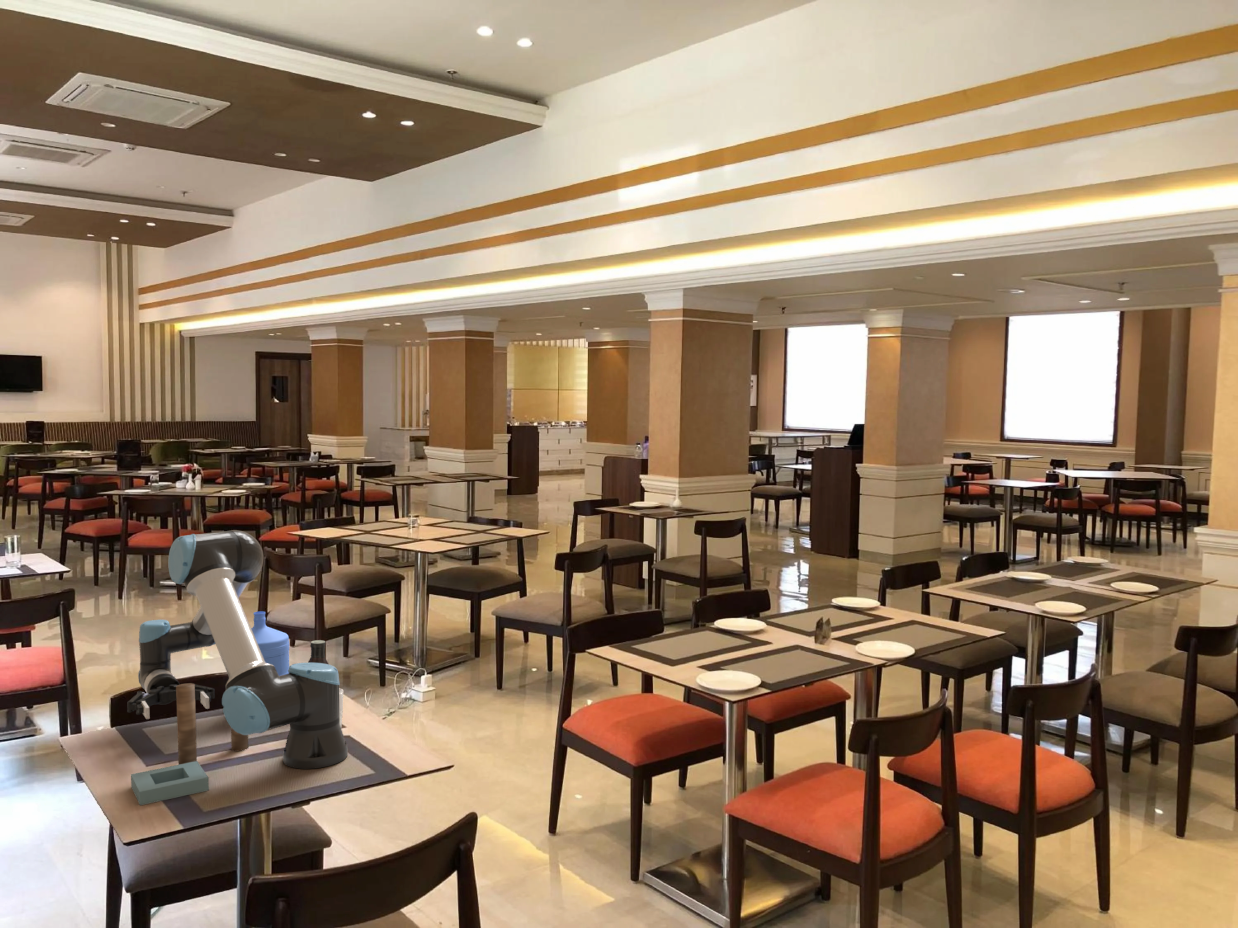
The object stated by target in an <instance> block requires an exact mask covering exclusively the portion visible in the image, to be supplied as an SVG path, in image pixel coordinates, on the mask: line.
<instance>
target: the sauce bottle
mask: <svg viewBox="0 0 1238 928" xmlns="http://www.w3.org/2000/svg"><path fill="white" fill-rule="evenodd" d="M325 650H326V641H325V640H321V639H319V640H312V641H310V658H309V659H308V661H307V663H323V664H329V662H328V660H327V659H326V654H325V653H326V651H325Z"/></svg>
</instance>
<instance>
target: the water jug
mask: <svg viewBox="0 0 1238 928" xmlns="http://www.w3.org/2000/svg"><path fill="white" fill-rule="evenodd" d="M266 620H267V619H266V611H263V610H262V611H255V612H253V626H252V627H251V629H252V631H253V634H254V636H255V639H256V641H257V643H258V646H259V648H260V651H261V653H262V655H263V658H264V660H265V663H268V664H272V665H274V667H275V669H276V671H277V673H278V675H279V676H281V675H286V674H289V672H288V670H289V667H290V640H289V639H290V638H289V635H288V634H287V632H283V631H281V630H278V629H275V628H272V627H269V626H267V625H266Z"/></svg>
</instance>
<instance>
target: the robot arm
mask: <svg viewBox="0 0 1238 928" xmlns="http://www.w3.org/2000/svg"><path fill="white" fill-rule="evenodd" d="M263 565H264V551H263V548H262V546H261V543H260V542H259V541H258V540H257V539H256V538H255V537H254V536H253V535H251V534H249V533H248V532H246V531H242V530H237V529H233V530H232V529H231V530H230V529H229V530H227V531H223V530H222V531H214V532H207V533H198V534H197V533H196V534H195V533H191V534H187V535H181V536H178V537H177V538H175V539H174V540H173V542H172V544H171V546H170V549H169V553H168V566H167V567H168V572H169V573H168V574H169V577H170V579H171V581H172V582H173V583H174V584H178V585H182V584H183V585H184V586H185V589H186V591H187V593H188V594H189V595H191V596H195V597H196V598H197V601H198V603H199V605H200V607H199V608H198V610H197V612H196V614H195V615H194V617H193V618H192V620H191V621H189V622H183V623H178V624H172V625H171V624H170V621H168V620H167V619H153V620H152V619H151V620H146V621H144V622H142V623H141V624H140V625H139V633H138V636H139V638H138V643H139V646H138V647H139V670H138V673H137V677H138V683H139V684H140V686H141V688H142V689H144V691H145V692H146V693H145V692H144V691H141V690H138V691H137V692H136V694H135V695H134V696H133V697H132V698H131V699H129V700H128V701H127V713H132V712H135V711H136V712H135V714H136V716H139V715H143V716H144V718H145V719H146V720H149V719H151V717H150V716H151V715H150V707H151V706H153V705H155V706H157V705H161V706H162V705H168V704H170V703H172V702H174V701H177V697H176V686H178V685H180V682H179V680H178V679H177V678H176V676H175V675H174V674H173V673H172V671H171V670H172V669H171V668H172V667H171V660H172V657H171V656H172V655H171V654H175V653H178V652H179V653H180V652H184V651H185V652H186V651H189V650H195V649H201V648H205V647H207V648H208V647H212V646H213V645H214V646H216V648H217V651H218V653H219V656H220V658H221V662H222V663H223V665H224V669H225V671H226V673H227V675H228V680H227V681H226V683H225V691H224V692H223V694H222V698H221V705H222V707H223V708H222V713H223V715H224V716H223V717H224V718H225V720H226V722H227V723H228V726H230V729H231V728H232V729H233V730H234V731H236V732H237V733H240V734H242V735H248V736H251V735H255V734H262V733H266V732H267V731H270V730H273V729H277V728H281V727H285V726H288V725H289V732H288V735H287V738H286V741H285V747H284V748H283V751H282V760H283V761H282V762H283V764H284V765H285V766H287V767H289V768H294V769H300V770H301V769H302V770H303V769H304V770H306V769H320V768H324V767H329V766H334V765H335V764H339V763H341V762H342V761H344V760H346V758H347V757H348V753H349V751H348V743H347V741H346V740H345V736H344V734H343V729H342V727H340V711H339V688H340V685H341V683H340V677H339V676H340V675H339V671H338V668H336V666H334V665H332V664H329V663H328V664H323V663H308V662H298V663H297V662H296V663H293V664H291V665H289V670H288V672H289V674H286V675H281V676H279V675H278V673H277V671H276V669H275V667H274V665H272V664H268V663H265V660H264V658H263V655H262V653H261V651H260V648H259V646H258V643H257V641H256V639H255V636H254V634H253V631H252V629H251V628H252V627H251V624H250V622H249V620H248V618H247V615H246V613H245V610H244V608H243V606H242V603H241V601H240V599H239V598H240V597H241V595H242V594H243V592H244V591H245V588H246V587H247V586H248V584H249V583H251V582H253V581H255V580H256V578H257V577H258V576H259V573H260V572H261V570H262V567H263ZM191 683H192V684H195V701H200V704H201V705H203V707H204V708H205V709H207V710H208V709H210V702H211V701H212V700H214V699H215V698H216V697H215V690H216V689H215V688H213V687H209V686H205V685H199V684H196V683H193V682H191Z"/></svg>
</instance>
